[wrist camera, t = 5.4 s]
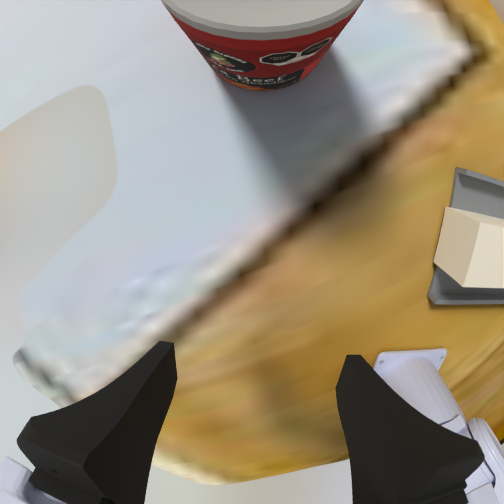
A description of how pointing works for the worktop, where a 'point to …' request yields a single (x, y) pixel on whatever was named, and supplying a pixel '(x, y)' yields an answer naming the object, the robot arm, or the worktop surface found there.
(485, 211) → the tray
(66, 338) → the worktop surface
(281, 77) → the canned food
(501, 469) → the robot arm
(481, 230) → the cream block
